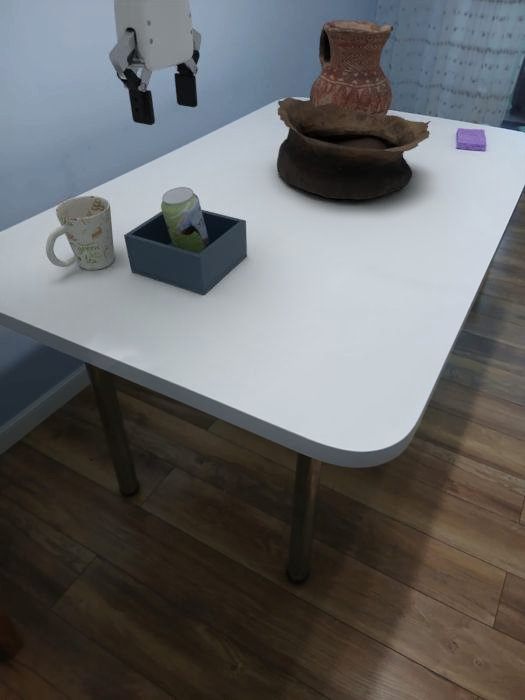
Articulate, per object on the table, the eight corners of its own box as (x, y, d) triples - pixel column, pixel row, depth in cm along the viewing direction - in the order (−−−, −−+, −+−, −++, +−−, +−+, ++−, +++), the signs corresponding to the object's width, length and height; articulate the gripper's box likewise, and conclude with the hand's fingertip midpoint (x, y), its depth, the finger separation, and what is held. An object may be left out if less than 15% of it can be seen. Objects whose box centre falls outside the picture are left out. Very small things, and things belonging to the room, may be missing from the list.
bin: (131, 272, 83) (123, 235, 78) (179, 237, 92) (174, 202, 87) (204, 295, 77) (200, 257, 73) (247, 256, 86) (246, 220, 82)
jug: (394, 122, 144) (411, 20, 127) (376, 145, 129) (392, 32, 113) (322, 113, 151) (329, 15, 134) (297, 134, 136) (301, 27, 120)
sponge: (456, 149, 127) (458, 141, 126) (456, 133, 136) (457, 126, 135) (485, 151, 125) (487, 144, 124) (482, 136, 135) (484, 128, 133)
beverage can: (218, 257, 84) (214, 190, 77) (184, 274, 81) (176, 204, 73) (195, 245, 88) (188, 178, 80) (162, 260, 84) (151, 192, 76)
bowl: (308, 151, 130) (317, 88, 121) (431, 183, 118) (451, 116, 109) (237, 185, 106) (241, 109, 97) (383, 229, 94) (404, 148, 85)
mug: (131, 257, 86) (120, 203, 80) (75, 291, 78) (58, 234, 72) (97, 244, 90) (84, 191, 83) (41, 276, 82) (21, 220, 75)
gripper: (168, -49, 64) (181, 96, 75) (69, -45, 52) (102, 126, 63) (217, -47, 61) (223, 103, 72) (124, -43, 49) (149, 135, 60)
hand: (166, 114), depth 68 cm, fingers open, 9 cm apart
